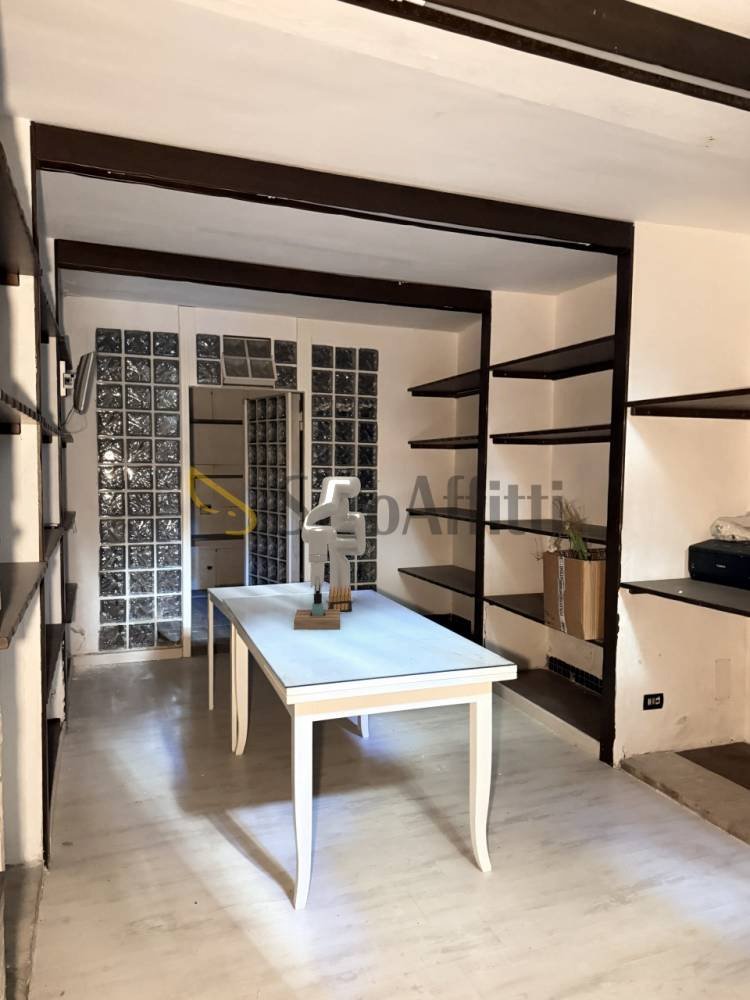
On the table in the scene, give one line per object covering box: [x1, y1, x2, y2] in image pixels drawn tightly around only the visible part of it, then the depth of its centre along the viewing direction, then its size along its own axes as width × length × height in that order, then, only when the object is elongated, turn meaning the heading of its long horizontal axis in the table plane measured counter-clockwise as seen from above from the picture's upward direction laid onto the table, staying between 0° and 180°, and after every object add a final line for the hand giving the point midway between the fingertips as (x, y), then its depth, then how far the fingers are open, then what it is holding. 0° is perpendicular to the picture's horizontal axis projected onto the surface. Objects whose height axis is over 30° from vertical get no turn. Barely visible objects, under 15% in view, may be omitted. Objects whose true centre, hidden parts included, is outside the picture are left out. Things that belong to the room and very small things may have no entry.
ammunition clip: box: [327, 584, 353, 613], centre depth 295 cm, size 11×2×12 cm, turn 114°
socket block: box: [293, 608, 341, 630], centre depth 273 cm, size 18×18×4 cm
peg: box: [311, 602, 324, 616], centre depth 274 cm, size 4×4×8 cm
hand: (317, 603), depth 273 cm, fingers closed
